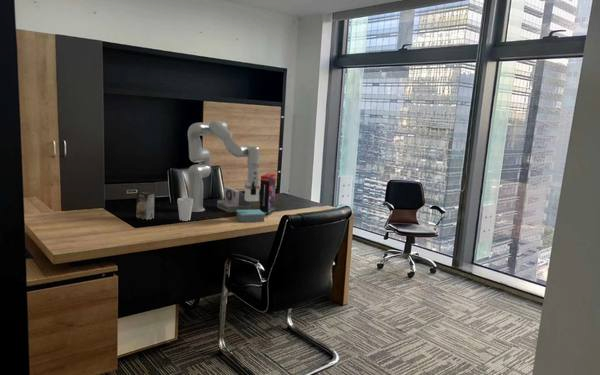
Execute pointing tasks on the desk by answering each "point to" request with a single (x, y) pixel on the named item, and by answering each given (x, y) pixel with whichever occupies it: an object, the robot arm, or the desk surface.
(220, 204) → the instant camera
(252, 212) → the podium
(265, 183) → the graphics card box
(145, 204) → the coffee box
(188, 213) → the foam cup
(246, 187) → the carton
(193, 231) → the desk surface
